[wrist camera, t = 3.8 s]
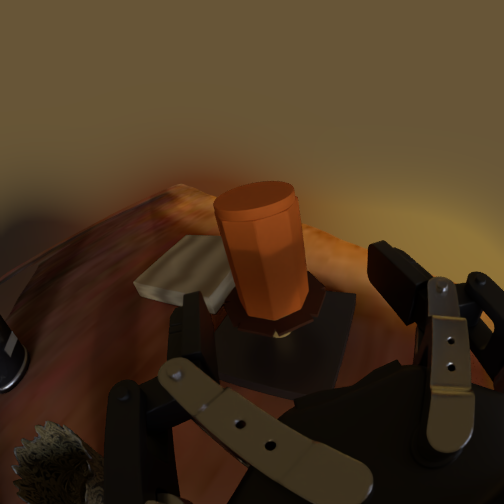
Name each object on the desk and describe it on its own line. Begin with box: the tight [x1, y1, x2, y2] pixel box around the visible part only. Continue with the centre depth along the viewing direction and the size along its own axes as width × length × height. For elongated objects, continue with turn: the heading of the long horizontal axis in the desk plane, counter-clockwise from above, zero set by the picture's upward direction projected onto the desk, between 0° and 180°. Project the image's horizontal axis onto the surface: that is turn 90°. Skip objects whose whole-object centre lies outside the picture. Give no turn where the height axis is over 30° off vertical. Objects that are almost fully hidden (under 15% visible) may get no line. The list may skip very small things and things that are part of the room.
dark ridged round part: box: [11, 421, 104, 504], centre depth 9 cm, size 8×7×8 cm
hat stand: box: [214, 291, 356, 400], centre depth 21 cm, size 12×12×14 cm
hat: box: [213, 181, 326, 337], centre depth 20 cm, size 8×8×9 cm
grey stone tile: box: [133, 235, 235, 314], centre depth 37 cm, size 13×13×2 cm
